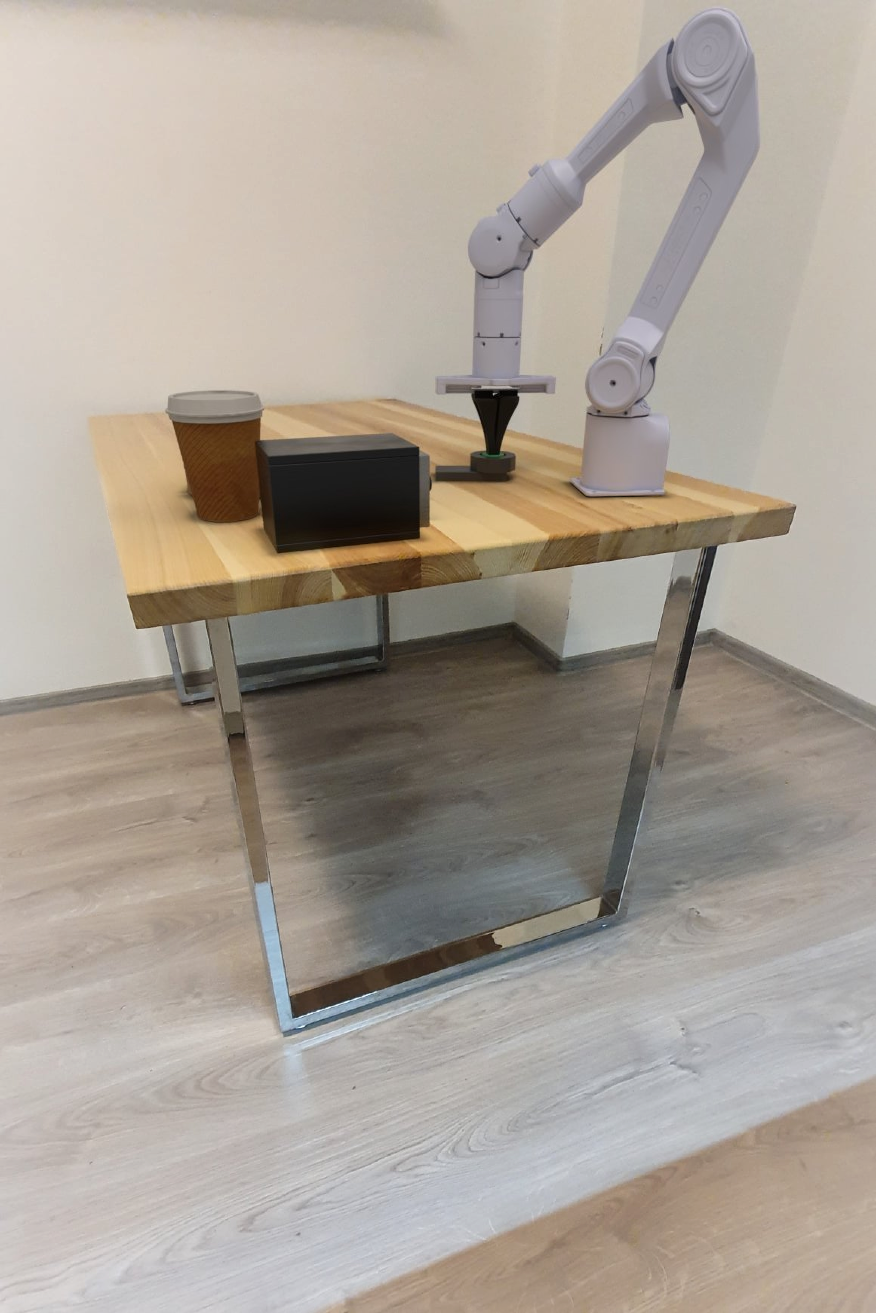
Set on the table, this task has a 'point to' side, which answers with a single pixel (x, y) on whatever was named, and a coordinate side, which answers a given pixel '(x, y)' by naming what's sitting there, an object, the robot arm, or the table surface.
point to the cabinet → (338, 491)
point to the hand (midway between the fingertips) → (492, 454)
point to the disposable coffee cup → (219, 450)
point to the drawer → (425, 489)
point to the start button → (492, 455)
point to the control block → (479, 468)
